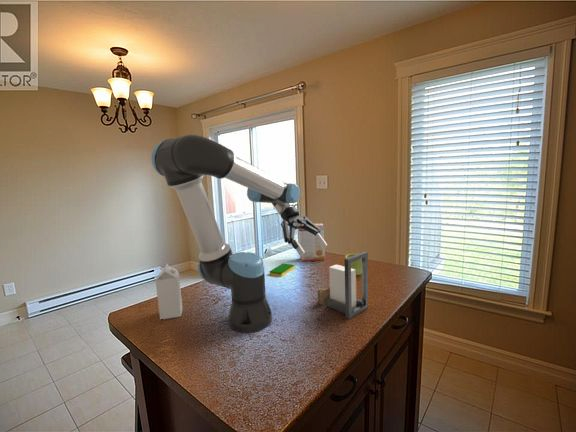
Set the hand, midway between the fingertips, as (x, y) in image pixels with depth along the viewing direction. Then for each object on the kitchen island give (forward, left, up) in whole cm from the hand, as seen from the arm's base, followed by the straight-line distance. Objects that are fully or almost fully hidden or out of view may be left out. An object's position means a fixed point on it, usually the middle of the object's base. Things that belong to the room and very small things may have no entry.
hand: (314, 250), depth 113 cm
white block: (-1, -15, -19) cm, 24 cm away
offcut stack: (-1, -7, -19) cm, 20 cm away
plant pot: (+31, +2, -19) cm, 37 cm away
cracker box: (+34, +34, -19) cm, 52 cm away
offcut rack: (-1, -16, -19) cm, 25 cm away
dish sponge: (+9, +32, -20) cm, 39 cm away
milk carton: (-49, +28, -19) cm, 60 cm away
